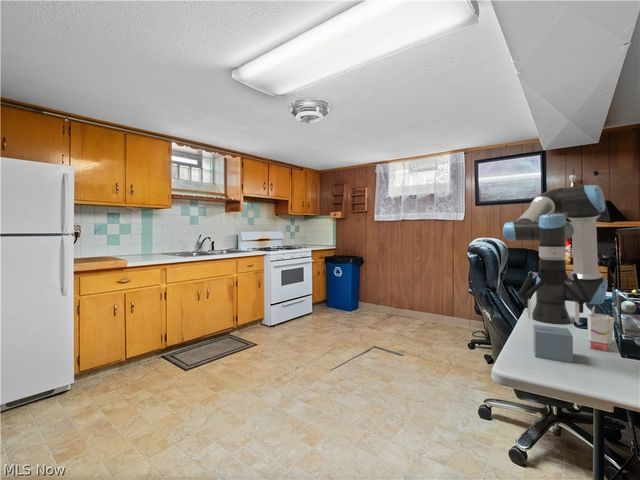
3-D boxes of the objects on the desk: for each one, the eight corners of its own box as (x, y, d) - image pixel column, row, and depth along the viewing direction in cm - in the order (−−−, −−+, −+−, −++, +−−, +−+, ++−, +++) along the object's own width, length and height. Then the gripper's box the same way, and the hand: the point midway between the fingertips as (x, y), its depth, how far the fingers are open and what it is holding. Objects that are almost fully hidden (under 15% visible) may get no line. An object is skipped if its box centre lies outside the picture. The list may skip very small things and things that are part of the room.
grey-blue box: (533, 347, 118) (533, 324, 118) (567, 352, 113) (567, 328, 113) (535, 356, 109) (535, 331, 109) (572, 362, 104) (572, 336, 104)
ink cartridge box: (608, 352, 114) (608, 311, 114) (590, 348, 117) (590, 308, 117) (610, 346, 120) (610, 307, 120) (592, 343, 123) (592, 305, 123)
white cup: (603, 339, 128) (603, 314, 128) (619, 345, 120) (619, 319, 120) (582, 338, 129) (582, 313, 129) (596, 345, 121) (597, 318, 121)
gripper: (510, 258, 113) (510, 317, 114) (602, 260, 101) (601, 327, 101) (510, 257, 120) (510, 313, 120) (596, 258, 107) (596, 321, 108)
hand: (552, 319), depth 111 cm, fingers open, 13 cm apart
